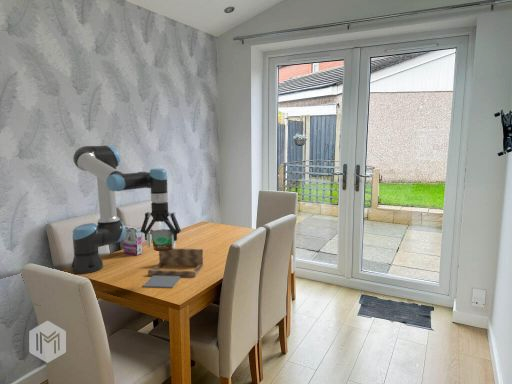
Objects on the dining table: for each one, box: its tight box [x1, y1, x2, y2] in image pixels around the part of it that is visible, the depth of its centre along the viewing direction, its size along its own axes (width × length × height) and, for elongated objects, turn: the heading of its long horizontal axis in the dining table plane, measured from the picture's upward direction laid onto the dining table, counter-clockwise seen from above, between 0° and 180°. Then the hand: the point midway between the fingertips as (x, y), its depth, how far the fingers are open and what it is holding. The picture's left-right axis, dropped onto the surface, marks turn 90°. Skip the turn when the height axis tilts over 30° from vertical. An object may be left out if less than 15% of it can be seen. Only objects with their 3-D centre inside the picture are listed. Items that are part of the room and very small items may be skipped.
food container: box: [149, 228, 173, 252], centre depth 169 cm, size 12×6×10 cm, turn 107°
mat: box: [142, 275, 182, 289], centre depth 172 cm, size 14×14×1 cm
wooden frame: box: [147, 247, 204, 278], centre depth 187 cm, size 24×18×9 cm
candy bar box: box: [122, 225, 144, 256], centre depth 215 cm, size 11×5×16 cm, turn 62°
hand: (161, 247), depth 169 cm, fingers closed on food container, 11 cm apart
